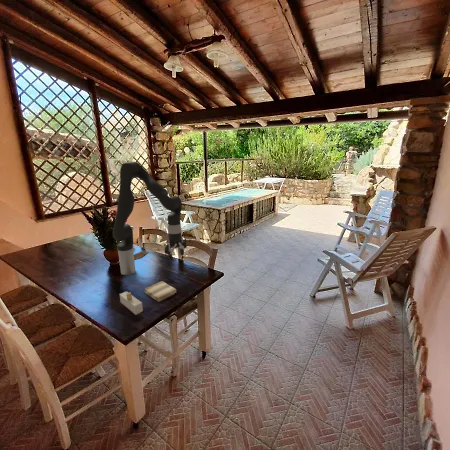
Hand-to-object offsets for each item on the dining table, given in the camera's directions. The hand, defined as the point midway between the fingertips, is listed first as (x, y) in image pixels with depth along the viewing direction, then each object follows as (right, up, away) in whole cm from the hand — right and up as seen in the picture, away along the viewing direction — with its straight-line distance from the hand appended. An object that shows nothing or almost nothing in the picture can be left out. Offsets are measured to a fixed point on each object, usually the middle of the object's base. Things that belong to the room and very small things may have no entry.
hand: (176, 257), depth 149 cm
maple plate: (-9, -21, -3) cm, 23 cm away
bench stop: (-21, -24, -16) cm, 36 cm away
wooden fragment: (-41, -6, +45) cm, 61 cm away
